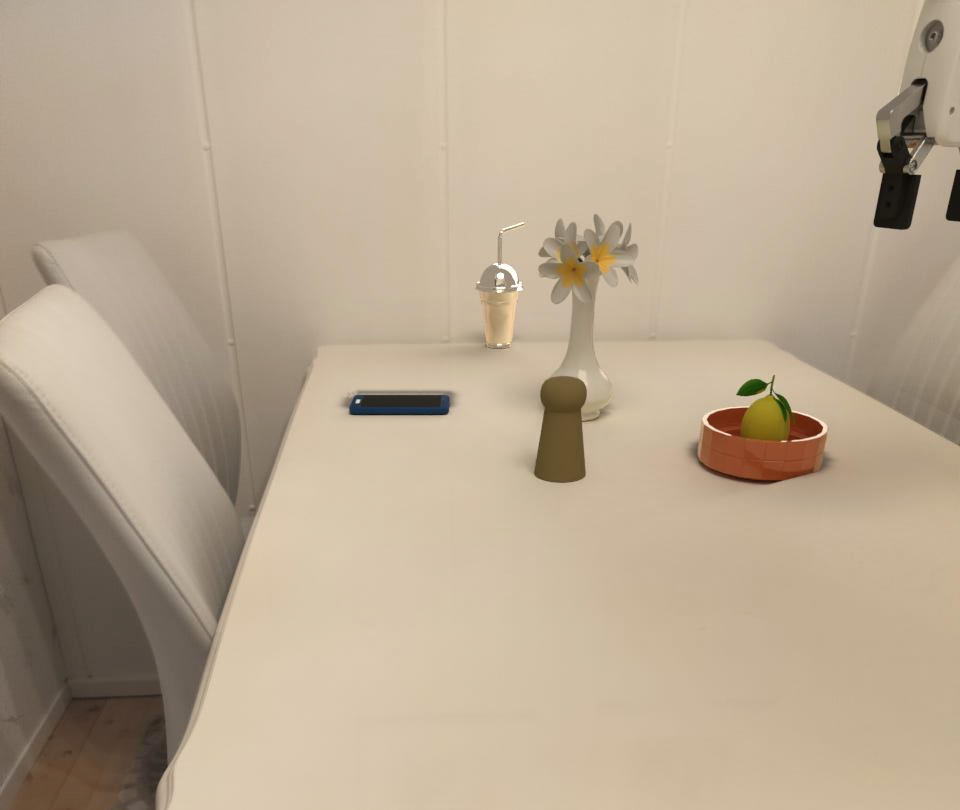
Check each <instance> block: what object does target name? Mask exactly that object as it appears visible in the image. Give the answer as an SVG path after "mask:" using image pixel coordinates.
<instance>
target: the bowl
mask: <svg viewBox="0 0 960 810" xmlns="http://www.w3.org/2000/svg"><path fill="white" fill-rule="evenodd" d="M750 406H751V405H746V406H745V405H742V406H730V407H722V408H718V409H714V410H710V411H709V412H707V413H705V414H704V415H703V417H702V418H701V421H700V429H699V437H698V445H697V453H696V455H697V458H698V460H699V462H700V463H702V464H703V465H704V466H706V467H707V468H710V469H712V470H714V471H717V472H719V473H723V474H725V475H728V476H731V477H735V478H740V479H745V480H751V481H761V482H779V481H780V482H781V481H787V480H790V479H796V478H798V477H802V476H806V475H811V474H813V473H818V472H819V471H820V470H821V468H822V463H823V458H824V453H825V448H826V443H827V438H828V433H829V426H828V425H827V424H826V423H825V422H824V421H823V420H821V419H819V418H817V417H816V416H813V415H810V414H807V413H803V412H800V411H796V410H791V411H792V414H793V418H794V422H795V424H794V422H793V420H792V418H791V416H790V414H789V413H788V414H789V419H790V432H789V437H788V440H787V441H772V440H759V439H750V438H744V437H741V434H740V431H741V424H742V420H743V417H744V415H745V413H746V411H747V410H748V408H749V407H750Z"/></svg>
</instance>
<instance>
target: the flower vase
mask: <svg viewBox="0 0 960 810" xmlns="http://www.w3.org/2000/svg"><path fill="white" fill-rule="evenodd" d="M555 223H556V224H555V227H554V237H546V238H545V239H544V241H543V242H542V246H541V247H540V249H539V250H538V253H537V254H538V256H539V257H540V258H549V259H547V260H546V261H545V262H542V263H541V264H539V266H538V277H539V278H542V279H543V278H547V279H551V280H557V281H556V282H555V284H554V286H553V287H552V289H551V293H550V301H551V303H552V304H554V305H559V304H561V303H563V302H564V301H565V300H566V299H567V297H568V296H569V295H570V293H571V302H572V303H571V305H572V306H571V317H570V327H569V328H570V331H569V338H568V344H567V349H566V352H565V355H564V356H563V357H564V358H563V359H562V361H561V364H560V365H559V366H558V368H556V369H555V370H554V371H553V372H552V373H551V375H550V376H549V378H551V377H557V376H570V377H575V378H578V379H580V380H582V381H583V382H584V384H585V386H586V389H587V397H586V401H585V404H584V405H583V407H582V408H581V416H582V422H585V421H592V420H596V419H598V418H599V416H600V415H601V411H600V410H601V409H603V408H605V407H606V406H607V405H608V404H609V403H610V401H611V399H612V397H613V395H614V388H613V384H612V382H611V380H610V377H609V376H608V375H607V373H606V372H605V371H604V370H603V369H602V367H601V366H600V364H599V361H598V358H597V354H596V350H595V332H594V331H595V308H596V306H595V305H596V299H597V298H596V296H597V293H598V287H599V284H600V280H601V277H603V279H604V280H605V282H606V284H607V285H609V287H611V288H616V287H617V286H618V284H619V276H618V272H617V270H616V269H615V268H620V269H621V270H622V271H623V272H624V275H625V276H626V277H627V280H628V281H629V282H630V284H631V283H633V282H634V284H635V285H638V286H639V277H638V274H637V271H636V268H635V267H634V264H635V262H636V259H637V258H638V255H639V246H638V243H631V244H630V242H631V239H632V228H633V227H632V222H629V223H628V226H627V229H626V232H625V234H624V236H623V239H622V242H620V240H621V237H622V235H623V233H624V225H623V223H622V222H621V221H620V220H615V221H613V222H612V223H611V224H610V225H609V226H608V227H607V229H606V226H605V223H604V220H603V219H602V217H601V216H600V215H599V214H597V213H593V224H594V229H595V231H594V230H593V229H591V228H585V229H584V231H583V235H582V234H578V226H577V223H576V222H575V220H571V222H570V223H569V224H568V226H567V227H566V226H565V222H564V219H563V218H561V217H560V218H559V219H557V221H556V222H555ZM619 242H620V243H619ZM582 256H583V257H584V258H581V257H582ZM549 378H548V379H549Z"/></svg>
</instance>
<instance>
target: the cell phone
mask: <svg viewBox="0 0 960 810" xmlns="http://www.w3.org/2000/svg"><path fill="white" fill-rule="evenodd" d="M450 399H451V398H450V396H449V395H447V394H355V395H354V396H353V398H352V400H351V403H350V405H349V408H348V409H349V410H348V411H349V413H350V414H352V415H445V414H448V413H449V411H450V404H451V403H450V402H451V400H450Z"/></svg>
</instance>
